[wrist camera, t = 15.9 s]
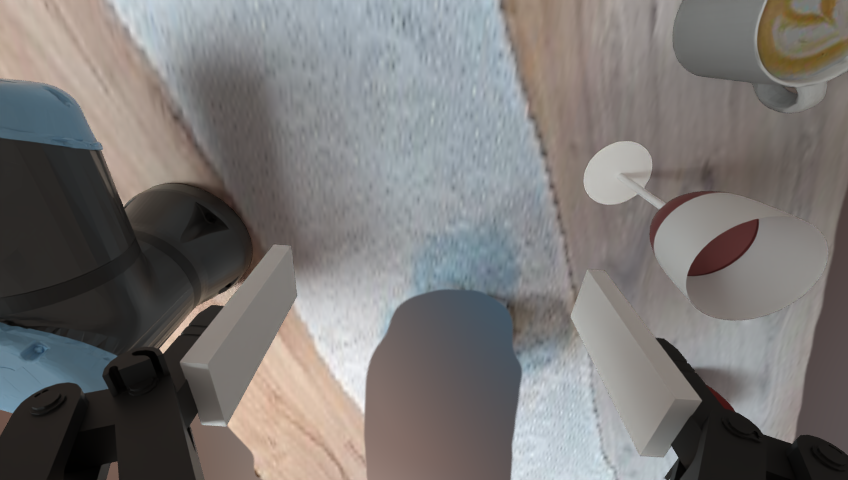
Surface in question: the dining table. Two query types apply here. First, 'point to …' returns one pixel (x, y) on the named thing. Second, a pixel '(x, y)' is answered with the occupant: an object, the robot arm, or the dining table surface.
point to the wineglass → (716, 240)
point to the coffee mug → (766, 46)
